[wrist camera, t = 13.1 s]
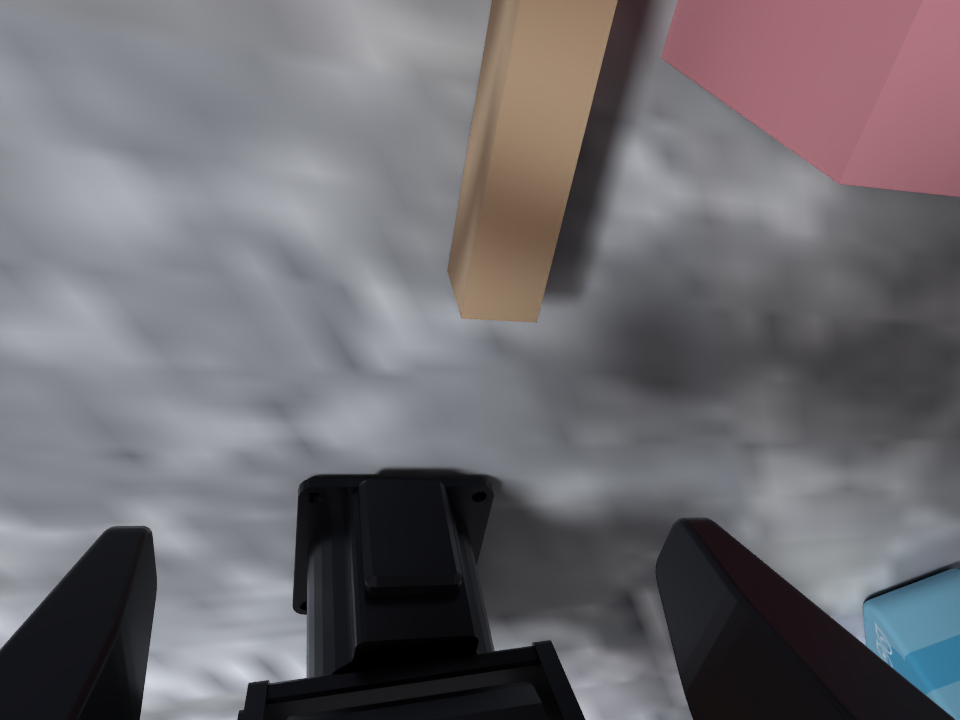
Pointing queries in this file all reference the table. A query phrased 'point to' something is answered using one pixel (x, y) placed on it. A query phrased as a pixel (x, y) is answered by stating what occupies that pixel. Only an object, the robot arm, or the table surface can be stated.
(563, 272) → the table surface
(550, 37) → the rail
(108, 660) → the robot arm
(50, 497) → the table surface
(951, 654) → the data package
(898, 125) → the boxed book
